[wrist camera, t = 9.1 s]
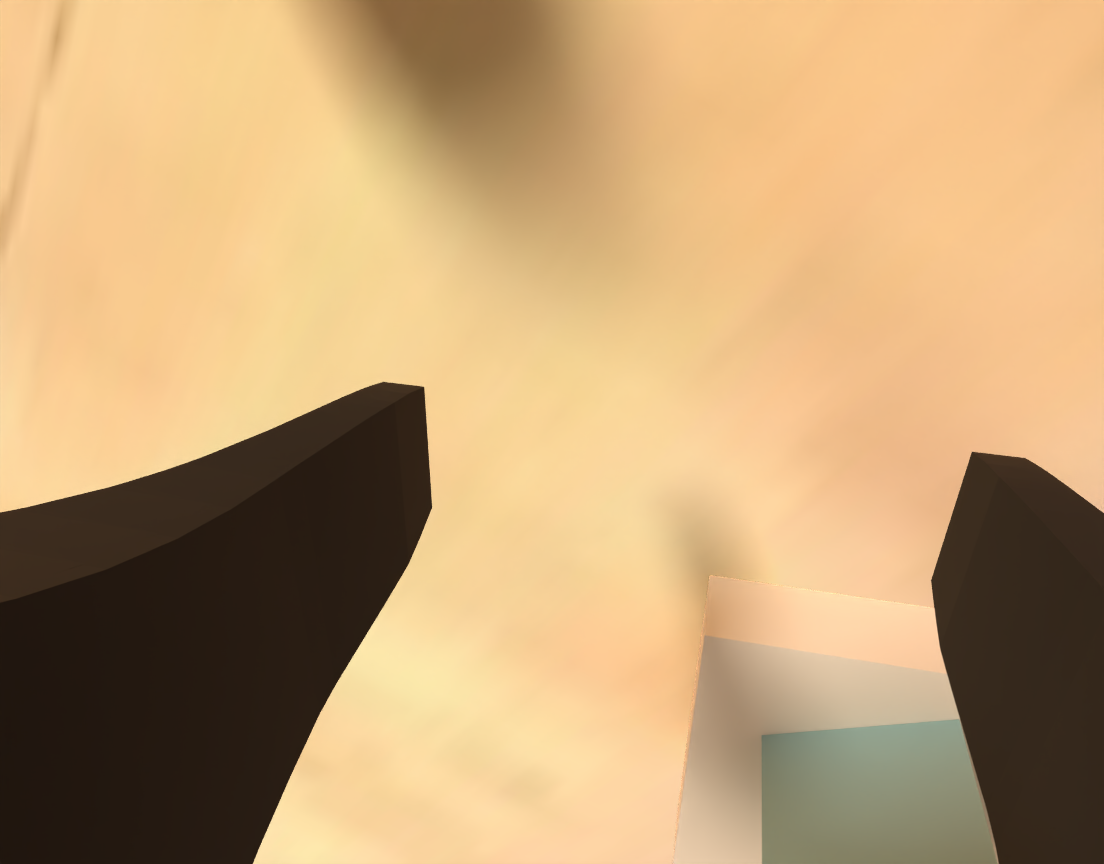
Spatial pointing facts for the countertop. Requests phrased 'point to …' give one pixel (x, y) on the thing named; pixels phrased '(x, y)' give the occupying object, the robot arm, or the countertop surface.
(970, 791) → the teal block
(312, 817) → the countertop surface
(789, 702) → the cream block
